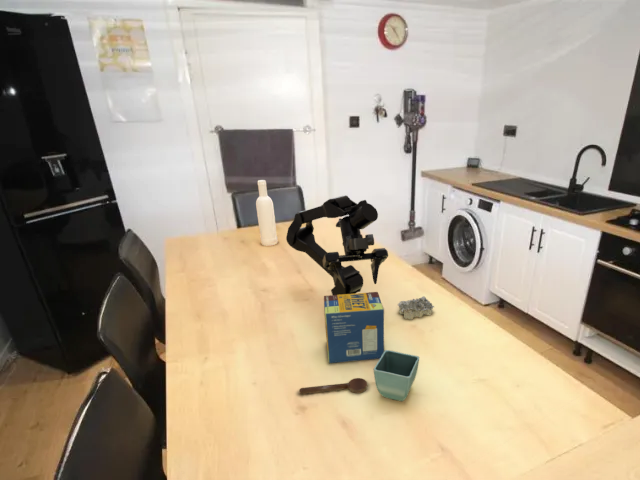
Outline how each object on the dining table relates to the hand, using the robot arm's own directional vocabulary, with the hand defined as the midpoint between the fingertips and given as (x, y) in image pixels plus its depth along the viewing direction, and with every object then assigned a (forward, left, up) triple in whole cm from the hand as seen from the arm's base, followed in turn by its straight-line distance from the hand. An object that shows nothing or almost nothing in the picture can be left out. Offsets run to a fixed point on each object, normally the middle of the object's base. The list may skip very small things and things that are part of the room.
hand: (360, 285), depth 118 cm
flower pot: (+27, -13, -16) cm, 34 cm away
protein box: (+6, -8, -16) cm, 19 cm away
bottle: (-92, +22, -16) cm, 96 cm away
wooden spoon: (+16, -22, -15) cm, 32 cm away
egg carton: (+4, +20, -16) cm, 26 cm away
